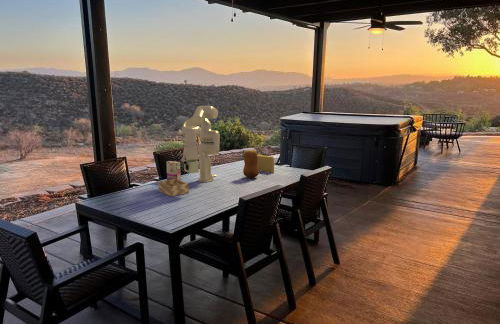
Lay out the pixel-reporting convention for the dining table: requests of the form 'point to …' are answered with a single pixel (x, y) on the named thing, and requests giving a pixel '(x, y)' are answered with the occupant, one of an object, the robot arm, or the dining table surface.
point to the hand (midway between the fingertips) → (191, 169)
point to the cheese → (265, 163)
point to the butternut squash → (251, 164)
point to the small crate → (192, 166)
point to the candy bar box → (173, 170)
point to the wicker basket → (173, 187)
